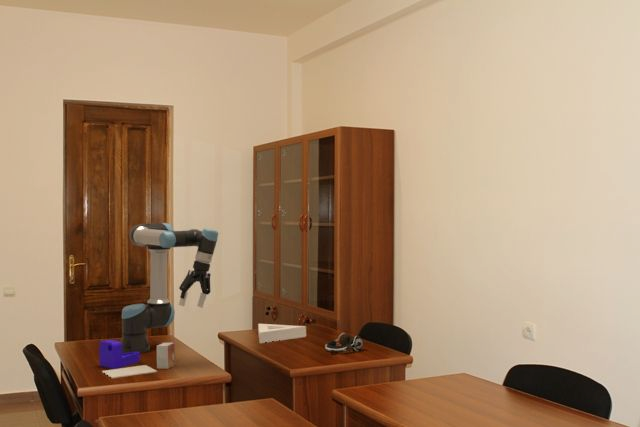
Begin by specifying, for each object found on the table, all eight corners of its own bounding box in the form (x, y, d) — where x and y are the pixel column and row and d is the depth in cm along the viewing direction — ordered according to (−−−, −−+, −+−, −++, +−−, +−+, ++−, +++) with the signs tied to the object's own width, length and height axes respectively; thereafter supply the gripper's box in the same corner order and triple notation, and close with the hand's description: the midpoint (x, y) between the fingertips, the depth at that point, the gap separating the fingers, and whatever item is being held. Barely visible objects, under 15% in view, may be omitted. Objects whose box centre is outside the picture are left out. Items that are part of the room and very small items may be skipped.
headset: (366, 335, 359) (333, 345, 348) (369, 350, 359) (335, 361, 349) (347, 330, 373) (314, 340, 362) (349, 344, 374) (316, 355, 363)
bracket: (113, 369, 329) (113, 343, 328) (99, 366, 335) (99, 340, 335) (146, 362, 342) (145, 337, 342) (132, 359, 349) (131, 335, 349)
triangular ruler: (258, 334, 413) (258, 323, 413) (303, 333, 416) (303, 322, 416) (259, 344, 384) (259, 332, 384) (308, 342, 387) (308, 330, 386)
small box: (168, 369, 326) (167, 345, 326) (156, 368, 328) (156, 345, 327) (175, 365, 334) (174, 342, 334) (163, 364, 335) (163, 342, 335)
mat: (101, 372, 323) (101, 370, 323) (145, 366, 333) (145, 364, 333) (111, 378, 310) (111, 377, 310) (157, 372, 321) (157, 370, 321)
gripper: (191, 260, 324) (179, 307, 323) (224, 266, 345) (213, 309, 344) (179, 256, 327) (167, 302, 327) (212, 262, 349) (201, 305, 348)
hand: (190, 306), depth 336 cm, fingers open, 13 cm apart
